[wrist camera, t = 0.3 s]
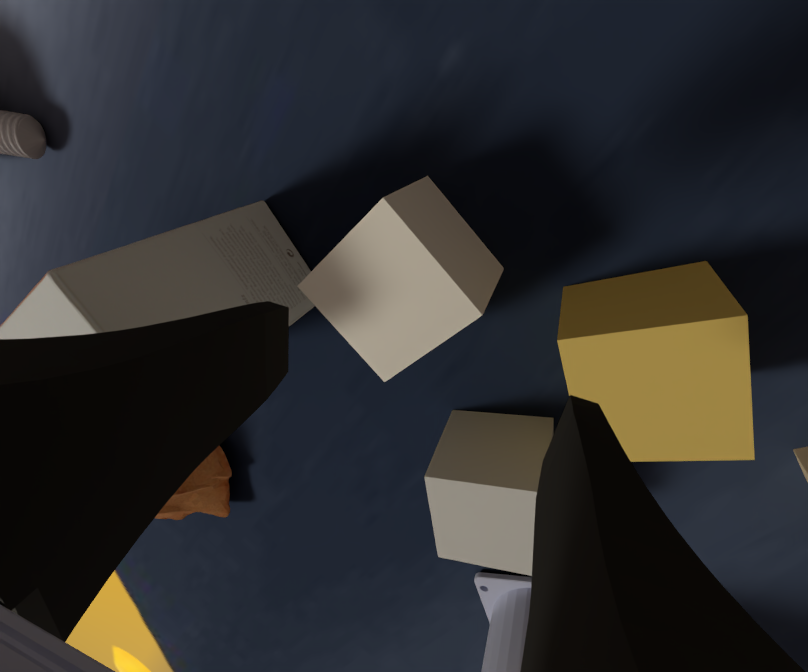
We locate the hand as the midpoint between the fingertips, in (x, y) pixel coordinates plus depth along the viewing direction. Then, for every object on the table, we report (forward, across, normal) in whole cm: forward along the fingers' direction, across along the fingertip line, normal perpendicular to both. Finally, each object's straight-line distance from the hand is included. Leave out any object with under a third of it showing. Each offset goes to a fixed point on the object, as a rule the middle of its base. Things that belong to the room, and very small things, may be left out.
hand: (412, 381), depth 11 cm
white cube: (+10, +3, 0) cm, 10 cm away
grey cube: (+10, -3, +10) cm, 14 cm away
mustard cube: (+10, -7, +1) cm, 12 cm away
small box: (+10, +12, +4) cm, 16 cm away
